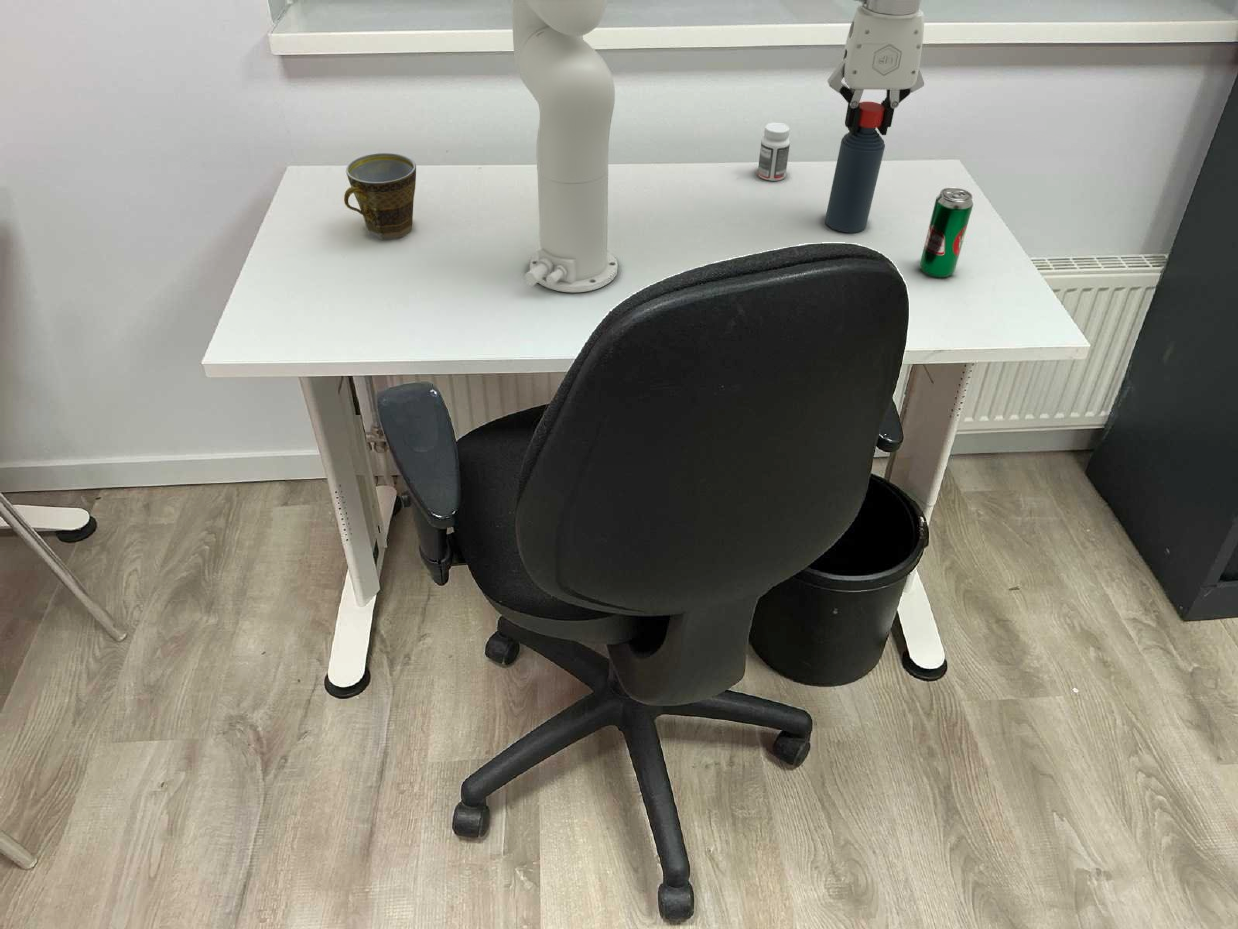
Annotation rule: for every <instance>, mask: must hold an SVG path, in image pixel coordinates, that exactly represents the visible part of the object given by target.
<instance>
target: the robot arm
mask: <svg viewBox="0 0 1238 929" xmlns="http://www.w3.org/2000/svg"><path fill="white" fill-rule="evenodd" d="M853 1H854V2H855V1H857V2H859V3H861V5H858V6H857V7H856V10H855V12H854V14H853V15H854V16H853V18H852V21H851V24H850V27H849V29H848V33H847V36H846V40H845V45H844V48H843V54H842V58H841V62H840V63H839V65H837V67H836V68H835V70H834V71H833V72H832V73H831V75H830V76H829V77H828V78H827V85H828V86H829V87H830V88H831V89H833V90H834V91H835V92H837V93H839V95H841V96H842V98H843V99H844V100H845V102H846V103H847V108H846V113H845V120H844V126H845V127H846V128H847V130H848V132H850V134H851V135H856V134H857V130H858V125H859V120H860V114H861V108H860V106H859V105H860V102H861V99H862V96H863V93H864V91H865V90H873V91H875V90H878V91H879V90H883V91H884V90H885V98H884V100H883V99H882V101H881V102H880V104H881V105H883V107H884V108H885V110H884V116H883V120H882V124H881V126H879V127H876V130H878V133H879V135H881V136H887V134H888V129H889V128H891V127H892V122H893V119H894V115H895V109H897V108H898V107H899V105H900V103H901V102H903V101H904V100H905V99H906V98H907V97H909V95H910V94H911V93H914V92H916V91H919V90H920V89H922V88H923V87H924V86H925V81H924V78H923V75H922V72H921V71H920V67H921V66H920V65H921V59H922V50H923V43H924V42H923V41H924V31H925V12H924V11H922V10H921V9H920V7H921V6H920V5H921V0H853ZM607 4H608V0H511V1H510V5H511V6H510V7H511V8H510V9H511V25H512V26H511V28H512V45H513V56H514V64H515V67H516V68H515V69H516V71H517V74H518V76H519V79H520V80H521V81H522V83H523V85H524V87H526V89H527V90H528V91H529V92H530V94H531V95H532V97H533V98H534V100H535V101H536V102H537V104H538V110H539V122H538V129H537V134H536V135H537V136H536V154H535V155H536V171H537V172H536V174H537V198H538V199H537V200H538V228H539V230H538V231H539V250H538V251H536V252H535V253H534V254H533V255H532V257H531V258H530V261H529V270H528V271H527V272H525V274H524V281H525V282H526V283H527V284H528V285H529V286H535V285H537V283H538V284H539V285H541V286H543V287H545V288H547V289H550V290H553V291H557V292H562V293H586V292H591V291H594V290H598V289H601V288H603V287H604V286H607V285H608V284H610V283H611V282H612V281H613V280H614V279H615V278H616V277H617V274H618V268H619V267H618V260H617V258H616V256H615V255H614V254H613V253H612V252H611V251H609V250H608V224H609V223H608V220H609V218H608V217H609V216H608V214H609V150H610V133H611V125H612V121H613V120H612V119H613V114H614V109H615V101H616V89H615V88H616V87H615V82H614V78H613V75H612V72H611V70H610V68H609V66H608V65H607V63H606V61H605V60H604V59H603V57H602V56H601V55H600V53H598V52H597V51H596V49H594V48H593V46H591V45H590V44H589V43H588V42H587V41H586V40H584V35H587V34H589V33H591V32H592V31H593V30H595V29H596V28H597V27H598V26H599V25H600V23H601V22H602V20H603V18H604V15H605V13H606V9H607V6H608V5H607ZM843 79H844V82H845V83H844V82H842V81H843Z"/></svg>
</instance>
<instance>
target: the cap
mask: <svg viewBox="0 0 1238 929" xmlns="http://www.w3.org/2000/svg"><path fill="white" fill-rule="evenodd" d="M859 103H860V105H859V106H860V108H861V114H860V120H859V126H862V127H867V128H876V129H877V127H879V126H881V124H882V120H883V116H884V110H885V108H884V107H883V105H881V103H878V102H874V101H860V102H859Z"/></svg>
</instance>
